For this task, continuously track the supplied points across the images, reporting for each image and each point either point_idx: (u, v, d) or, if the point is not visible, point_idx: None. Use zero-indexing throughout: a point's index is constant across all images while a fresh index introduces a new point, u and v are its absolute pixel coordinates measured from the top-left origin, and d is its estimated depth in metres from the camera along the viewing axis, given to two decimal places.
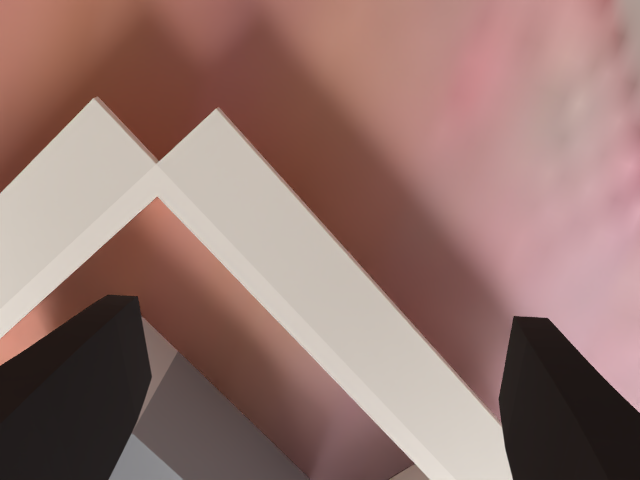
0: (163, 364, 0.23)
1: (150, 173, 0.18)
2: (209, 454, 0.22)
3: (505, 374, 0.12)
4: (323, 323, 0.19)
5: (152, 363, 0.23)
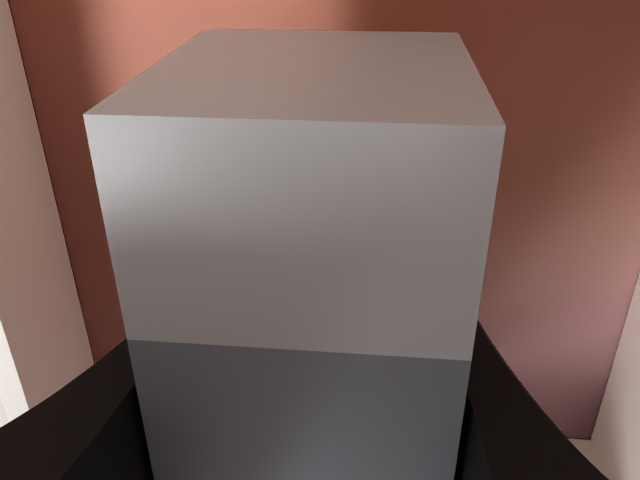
0: None
1: None
2: None
3: None
4: None
5: None
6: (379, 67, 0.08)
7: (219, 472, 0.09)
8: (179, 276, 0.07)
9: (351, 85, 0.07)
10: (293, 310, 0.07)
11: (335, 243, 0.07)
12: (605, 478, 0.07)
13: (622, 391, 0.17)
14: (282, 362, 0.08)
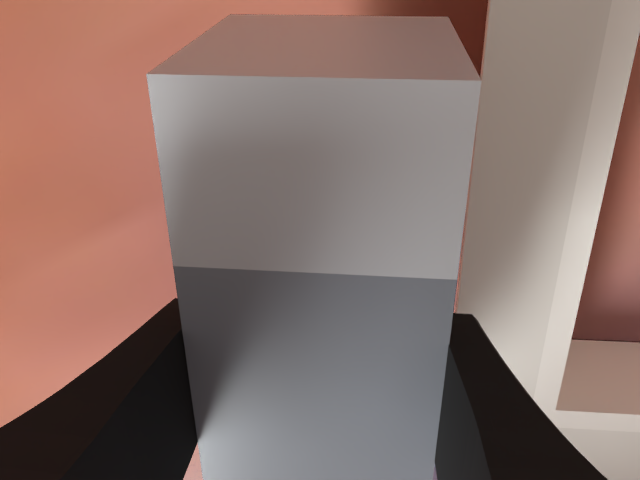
0: None
1: None
2: None
3: None
4: None
5: None
6: (381, 42, 0.10)
7: (247, 385, 0.11)
8: (219, 210, 0.09)
9: (358, 54, 0.09)
10: (311, 238, 0.09)
11: (346, 180, 0.09)
12: (604, 478, 0.07)
13: None
14: (302, 283, 0.10)
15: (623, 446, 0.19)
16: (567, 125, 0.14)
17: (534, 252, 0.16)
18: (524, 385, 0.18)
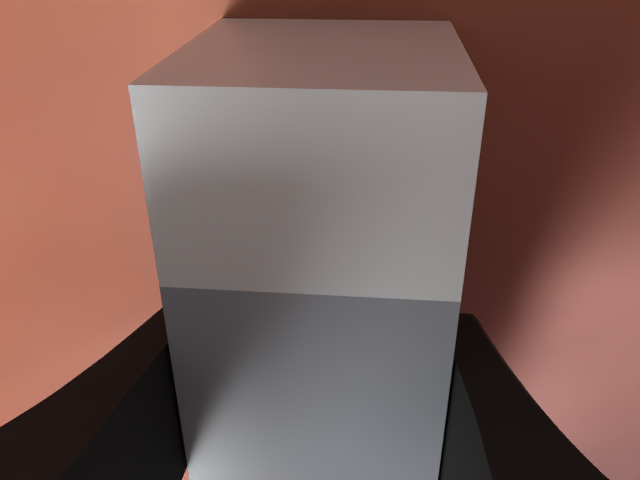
0: None
1: None
2: None
3: None
4: None
5: None
6: (379, 48, 0.09)
7: (239, 410, 0.10)
8: (207, 228, 0.09)
9: (356, 62, 0.09)
10: (306, 258, 0.09)
11: (343, 197, 0.08)
12: (605, 478, 0.07)
13: None
14: (296, 305, 0.09)
15: None
16: None
17: None
18: None
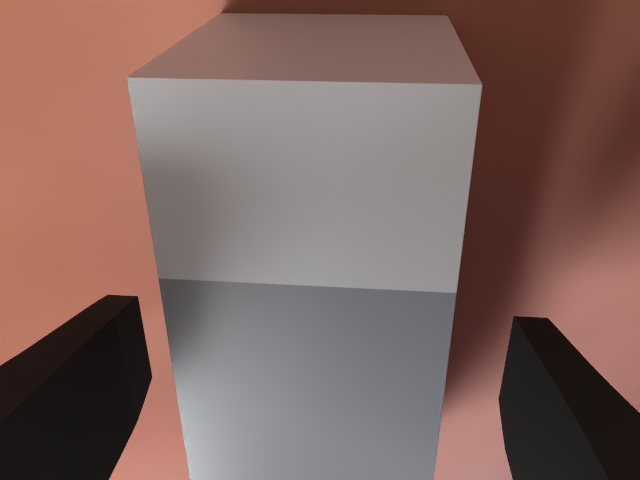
0: None
1: None
2: None
3: (505, 374, 0.12)
4: None
5: None
6: (376, 42, 0.10)
7: (237, 400, 0.10)
8: (205, 220, 0.09)
9: (353, 55, 0.09)
10: (303, 249, 0.09)
11: (340, 189, 0.08)
12: None
13: None
14: (294, 297, 0.09)
15: None
16: None
17: None
18: None
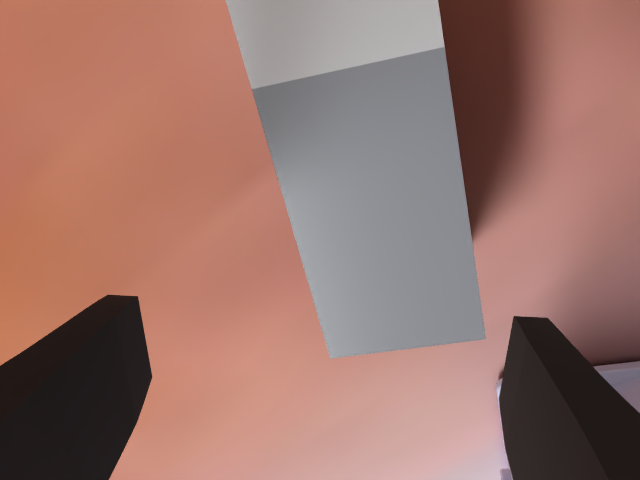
0: None
1: None
2: None
3: (505, 374, 0.12)
4: None
5: None
6: None
7: (319, 174, 0.15)
8: (273, 36, 0.13)
9: None
10: (339, 41, 0.13)
11: None
12: None
13: None
14: (340, 79, 0.14)
15: None
16: None
17: None
18: None
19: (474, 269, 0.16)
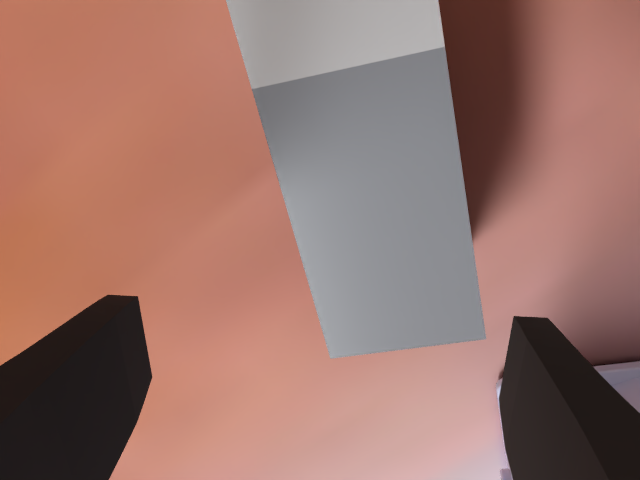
0: None
1: None
2: None
3: (505, 374, 0.12)
4: None
5: None
6: None
7: (319, 174, 0.15)
8: (274, 36, 0.13)
9: None
10: (339, 41, 0.13)
11: None
12: None
13: None
14: (340, 79, 0.14)
15: None
16: None
17: None
18: None
19: (474, 269, 0.16)
